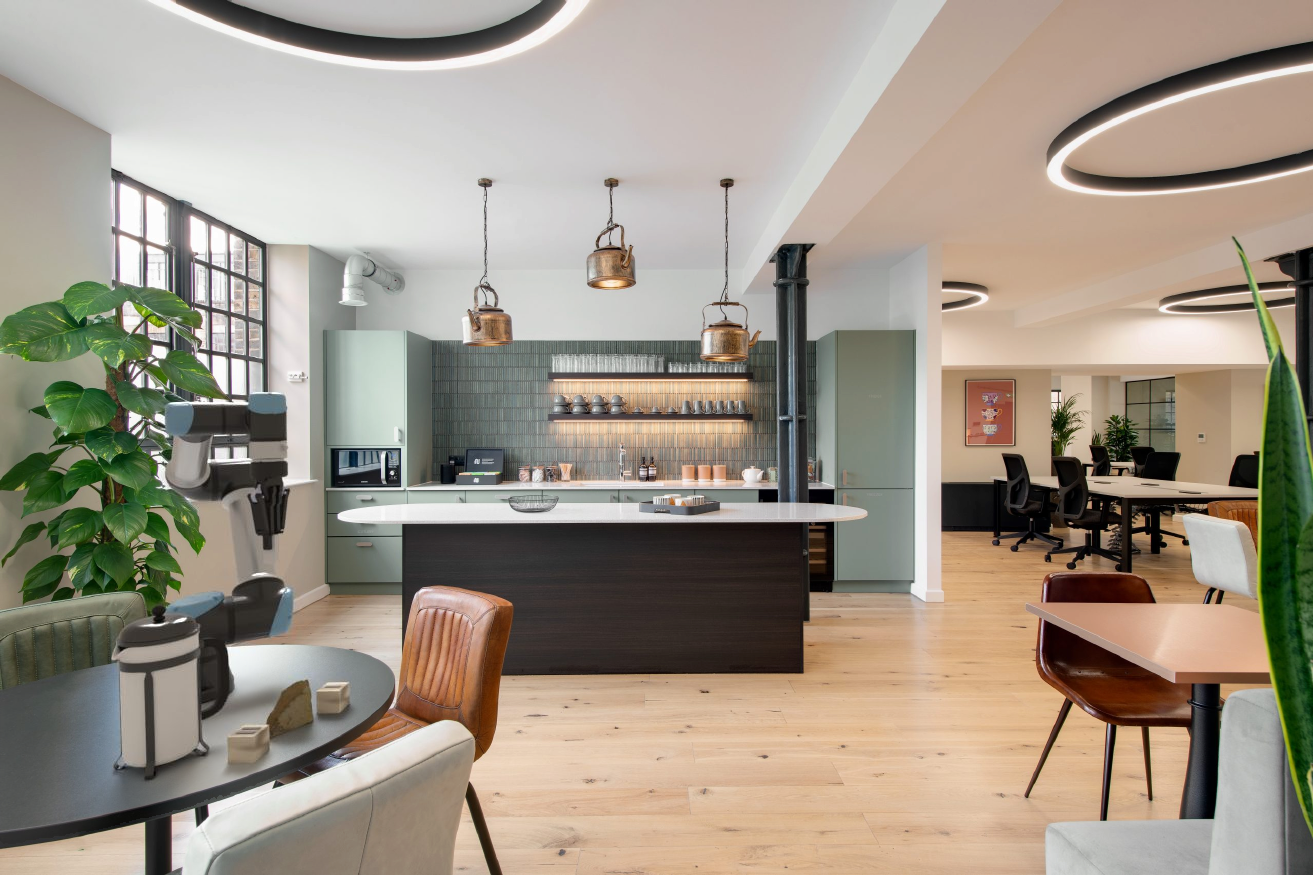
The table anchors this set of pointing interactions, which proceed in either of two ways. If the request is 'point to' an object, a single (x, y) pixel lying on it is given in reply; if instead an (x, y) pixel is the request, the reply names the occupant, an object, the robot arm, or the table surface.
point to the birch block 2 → (333, 697)
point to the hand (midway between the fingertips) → (271, 563)
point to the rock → (291, 709)
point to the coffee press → (164, 689)
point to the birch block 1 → (248, 743)
